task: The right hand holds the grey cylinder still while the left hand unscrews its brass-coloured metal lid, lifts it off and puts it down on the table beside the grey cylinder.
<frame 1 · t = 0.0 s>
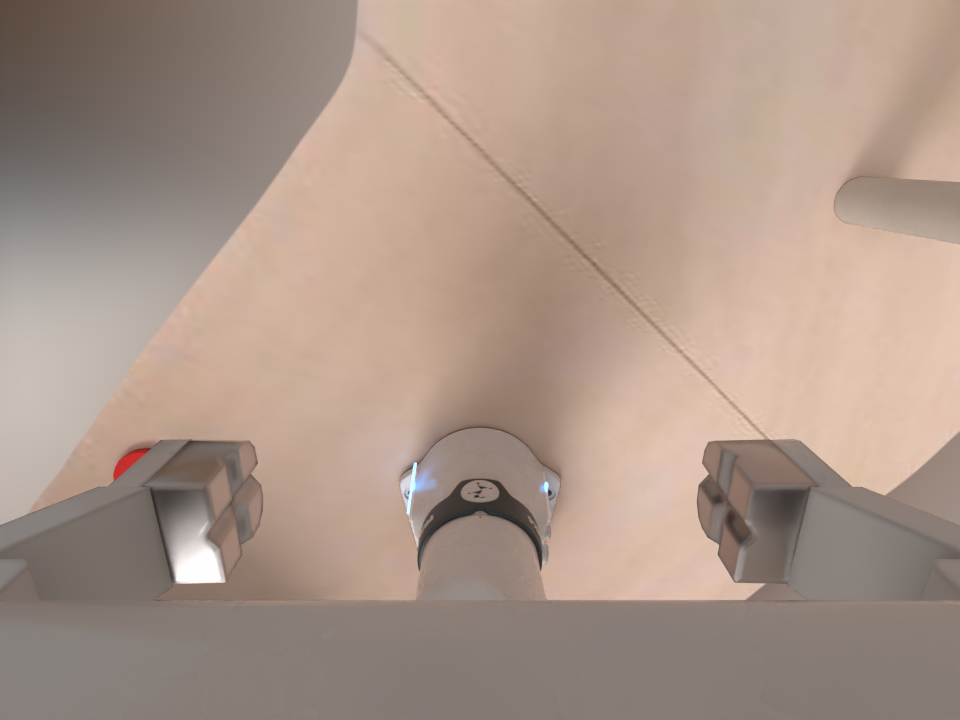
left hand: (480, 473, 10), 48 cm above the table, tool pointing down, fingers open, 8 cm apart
grey cylinder: (857, 200, 55), on the table
tow hook: (158, 480, 66), on the table
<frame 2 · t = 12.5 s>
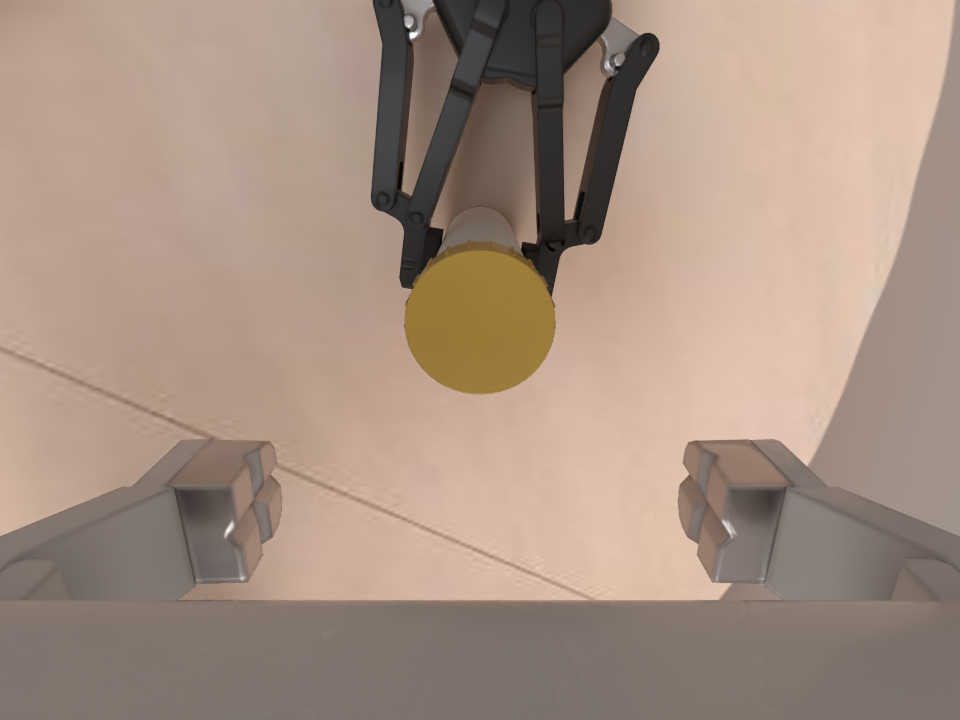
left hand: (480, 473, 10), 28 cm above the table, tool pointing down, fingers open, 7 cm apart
right hand: (465, 351, 32), fingers closed on grey cylinder, 4 cm apart
lid: (479, 322, 19), point 19 cm above the table, screwed on, not yet turned
grey cylinder: (479, 241, 36), on the table, touching right hand
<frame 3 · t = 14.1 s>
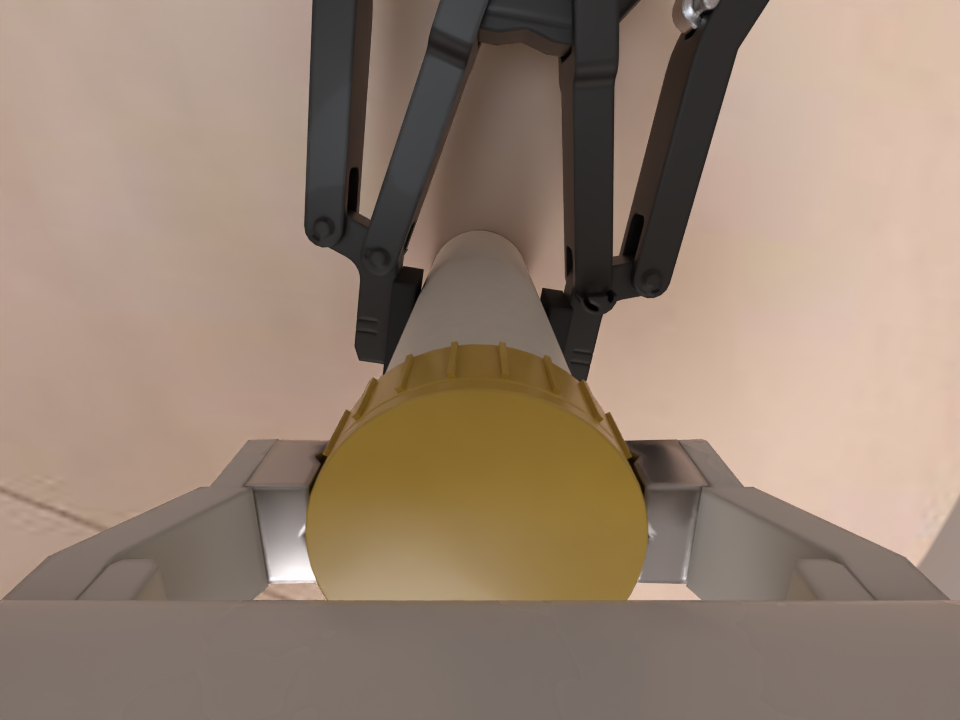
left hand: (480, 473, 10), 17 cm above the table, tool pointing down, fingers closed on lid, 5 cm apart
right hand: (457, 448, 22), fingers closed on grey cylinder, 4 cm apart
lid: (476, 531, 9), point 19 cm above the table, screwed on, not yet turned, touching left hand
grey cylinder: (478, 279, 26), on the table, touching right hand
when the left hand's fingers open (17 cm above the table, at t = 15.4 s): lid stays where it is, point 19 cm above the table.
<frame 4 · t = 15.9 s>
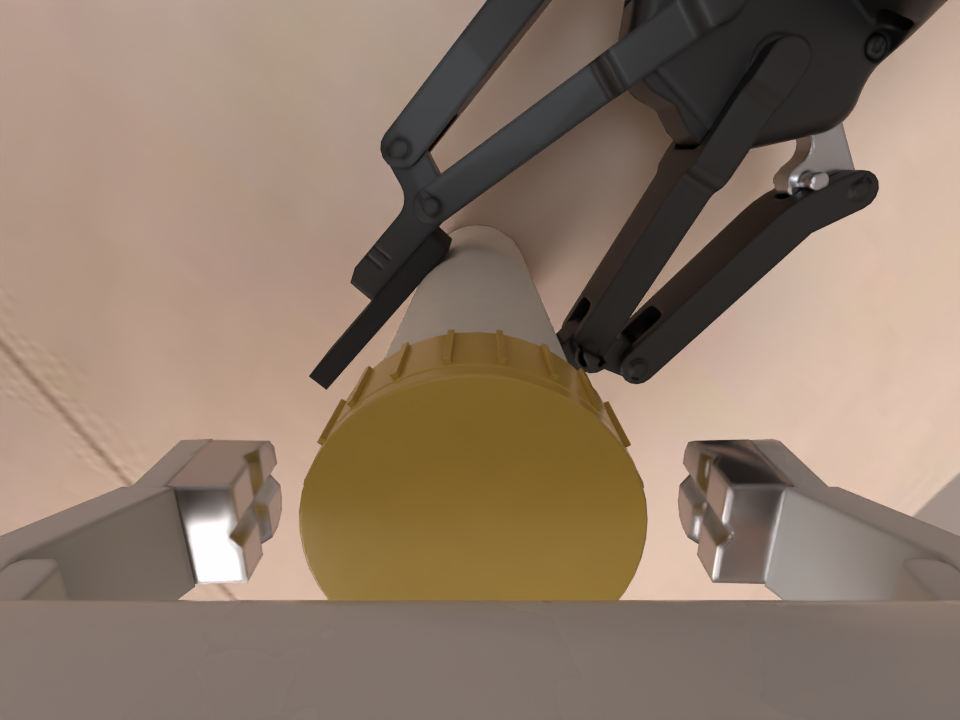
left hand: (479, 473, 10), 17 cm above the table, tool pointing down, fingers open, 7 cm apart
right hand: (383, 410, 21), fingers closed on grey cylinder, 4 cm apart
lid: (473, 521, 8), point 19 cm above the table, turned 67° so far, risen 0.2 cm, still on its thread
grey cylinder: (477, 273, 26), on the table, touching right hand
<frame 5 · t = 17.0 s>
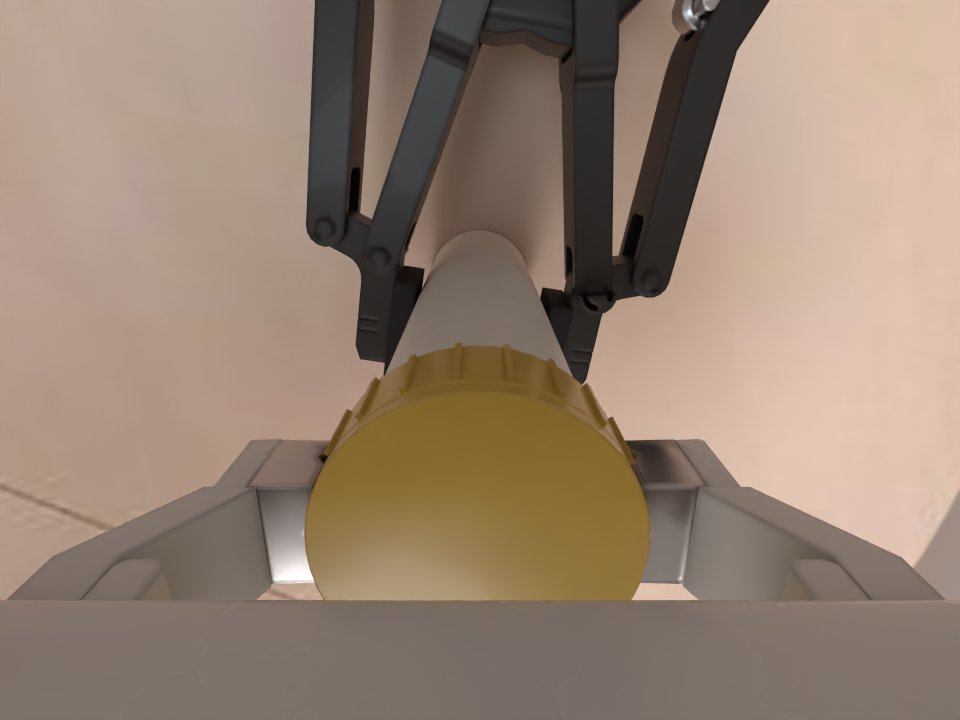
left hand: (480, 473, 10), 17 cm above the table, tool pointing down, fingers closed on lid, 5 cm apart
right hand: (457, 446, 22), fingers closed on grey cylinder, 4 cm apart
lid: (477, 535, 8), point 19 cm above the table, turned 67° so far, risen 0.2 cm, still on its thread, touching left hand
grey cylinder: (479, 278, 26), on the table, touching right hand
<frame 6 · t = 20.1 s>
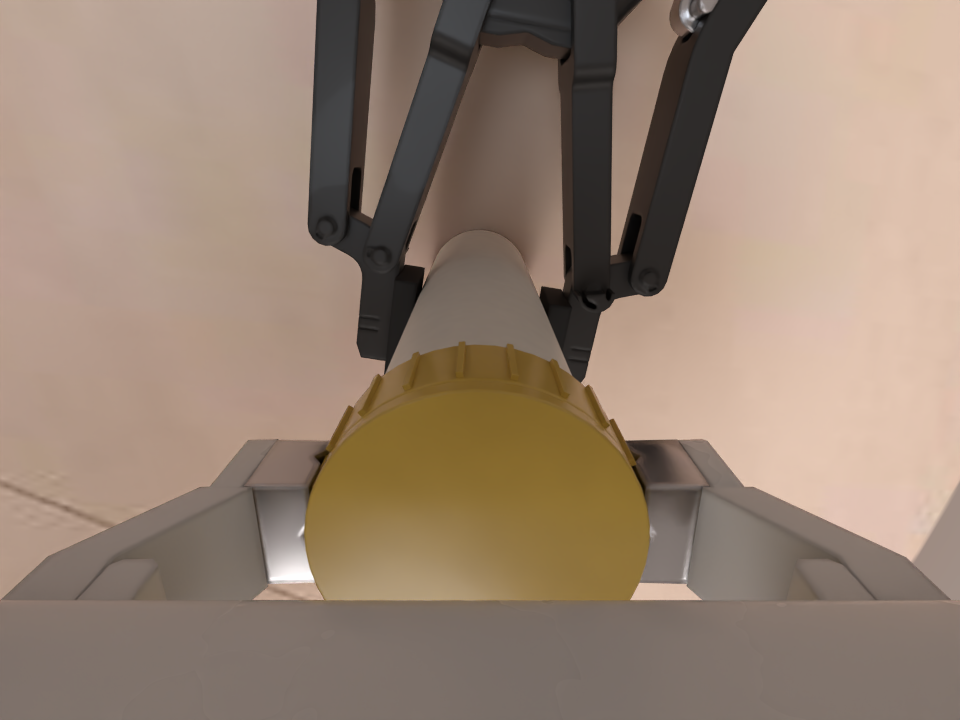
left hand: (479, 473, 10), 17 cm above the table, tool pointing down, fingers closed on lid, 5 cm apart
right hand: (457, 444, 22), fingers closed on grey cylinder, 4 cm apart
lid: (477, 533, 8), point 19 cm above the table, turned 135° so far, risen 0.4 cm, still on its thread, touching left hand
grey cylinder: (479, 277, 26), on the table, touching right hand
when the left hand's fingers open (2 cm above the table, at t = 27.4 s): lid drops 2 cm, point 2 cm above the table.
when the right hand's fingers open (7 cm above the table, at t = 28.3 s): grey cylinder stays where it is, on the table.
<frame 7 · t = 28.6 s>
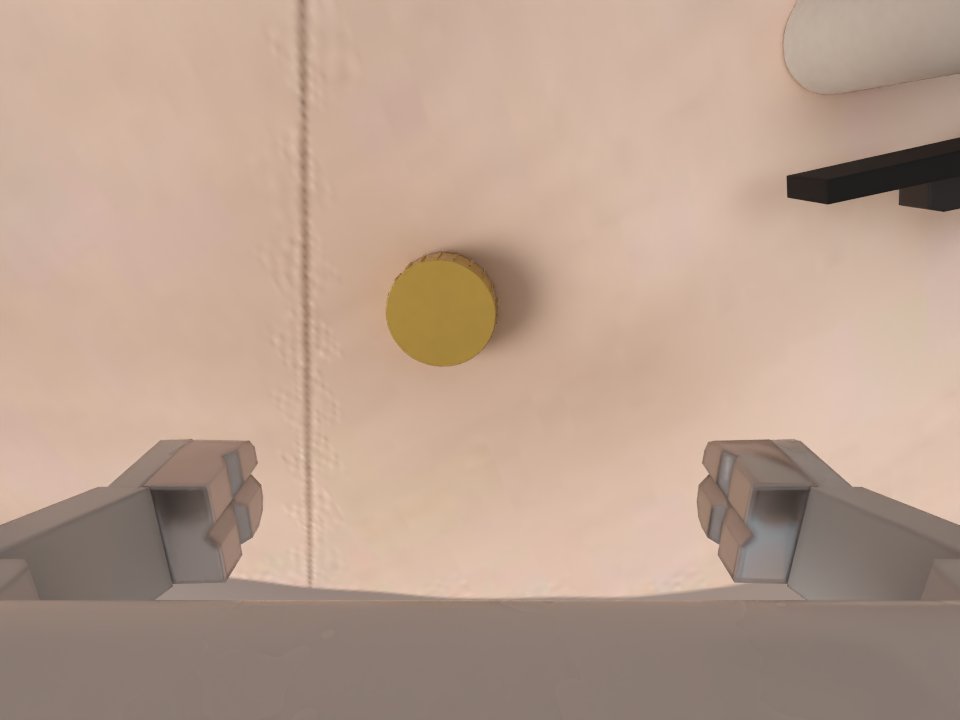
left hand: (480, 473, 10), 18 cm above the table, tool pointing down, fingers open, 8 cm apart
lid: (441, 313, 26), point 2 cm above the table, off its thread
grey cylinder: (840, 33, 23), on the table
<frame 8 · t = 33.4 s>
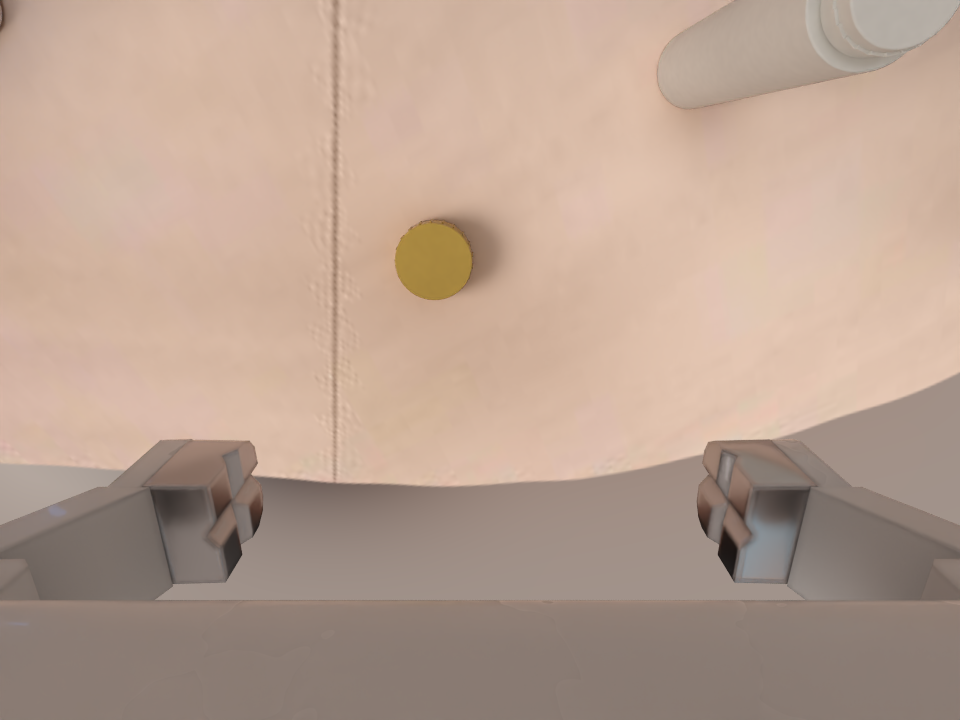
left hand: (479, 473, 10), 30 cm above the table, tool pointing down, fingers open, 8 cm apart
lid: (433, 261, 37), point 2 cm above the table, off its thread
grey cylinder: (693, 69, 34), on the table
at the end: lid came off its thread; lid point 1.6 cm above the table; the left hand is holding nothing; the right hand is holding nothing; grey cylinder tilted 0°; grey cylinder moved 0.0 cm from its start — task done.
